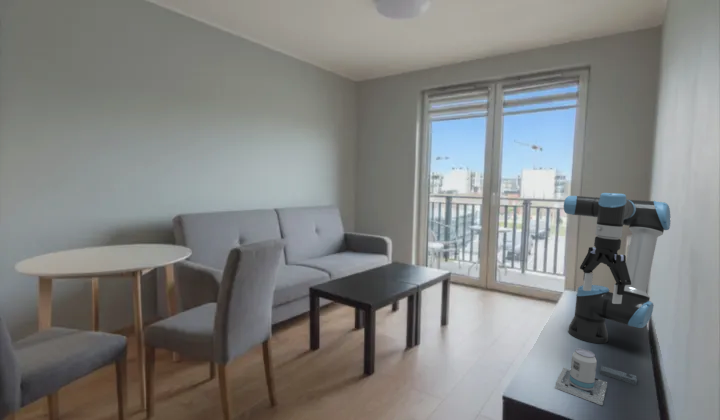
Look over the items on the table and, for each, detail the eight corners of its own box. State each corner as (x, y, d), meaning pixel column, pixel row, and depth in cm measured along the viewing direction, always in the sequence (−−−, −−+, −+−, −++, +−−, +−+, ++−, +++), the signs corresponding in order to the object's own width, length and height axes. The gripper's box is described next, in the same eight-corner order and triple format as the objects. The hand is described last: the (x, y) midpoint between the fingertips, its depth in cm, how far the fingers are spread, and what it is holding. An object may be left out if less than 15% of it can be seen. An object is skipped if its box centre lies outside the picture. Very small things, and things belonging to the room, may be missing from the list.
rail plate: (562, 372, 127) (563, 367, 127) (606, 387, 119) (607, 382, 119) (555, 388, 117) (555, 382, 117) (602, 405, 109) (603, 399, 109)
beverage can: (597, 394, 114) (601, 359, 113) (574, 391, 115) (578, 356, 114) (587, 382, 121) (591, 349, 120) (565, 379, 122) (569, 346, 121)
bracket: (600, 370, 131) (601, 365, 131) (635, 381, 125) (636, 375, 125) (600, 375, 128) (600, 369, 128) (636, 386, 122) (637, 380, 122)
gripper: (573, 231, 135) (567, 285, 137) (628, 243, 110) (620, 309, 112) (591, 232, 136) (585, 285, 138) (650, 244, 111) (641, 310, 113)
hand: (601, 296), depth 125 cm, fingers open, 13 cm apart
